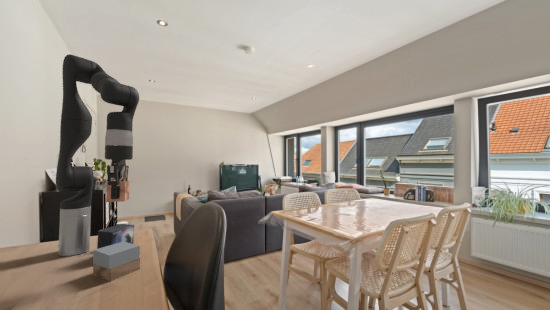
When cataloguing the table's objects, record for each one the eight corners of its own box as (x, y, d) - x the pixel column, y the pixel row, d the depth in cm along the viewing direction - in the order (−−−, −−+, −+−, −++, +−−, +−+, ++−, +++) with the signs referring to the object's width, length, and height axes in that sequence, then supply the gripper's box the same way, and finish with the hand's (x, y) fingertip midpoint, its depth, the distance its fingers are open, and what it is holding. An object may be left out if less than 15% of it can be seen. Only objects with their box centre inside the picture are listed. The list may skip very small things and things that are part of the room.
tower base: (92, 276, 72) (93, 263, 72) (122, 265, 80) (122, 253, 80) (110, 282, 68) (111, 268, 69) (139, 270, 77) (140, 257, 77)
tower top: (92, 263, 72) (93, 250, 73) (123, 253, 80) (123, 241, 81) (109, 269, 68) (109, 255, 68) (139, 258, 76) (139, 245, 76)
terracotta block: (111, 199, 77) (111, 181, 77) (128, 199, 78) (129, 181, 79) (106, 202, 72) (106, 182, 72) (124, 201, 74) (125, 182, 74)
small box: (110, 262, 82) (111, 231, 82) (95, 260, 83) (96, 230, 84) (134, 251, 92) (135, 224, 93) (120, 249, 94) (121, 223, 94)
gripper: (113, 146, 81) (111, 195, 81) (96, 142, 68) (95, 201, 67) (137, 146, 84) (136, 194, 83) (126, 143, 70) (125, 200, 70)
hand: (117, 197), depth 75 cm, fingers closed on terracotta block, 5 cm apart
